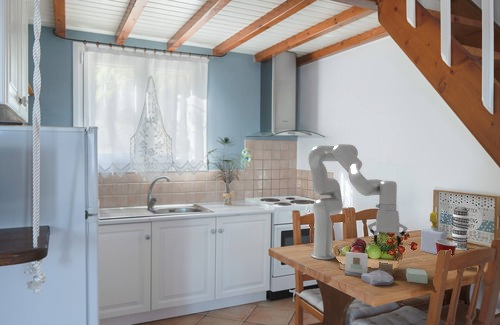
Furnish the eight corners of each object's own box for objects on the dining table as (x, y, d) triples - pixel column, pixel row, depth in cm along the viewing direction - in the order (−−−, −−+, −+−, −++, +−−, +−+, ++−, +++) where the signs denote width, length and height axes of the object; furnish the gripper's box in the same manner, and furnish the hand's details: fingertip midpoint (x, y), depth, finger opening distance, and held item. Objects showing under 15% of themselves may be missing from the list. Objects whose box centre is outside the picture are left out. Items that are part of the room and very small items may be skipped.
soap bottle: (446, 254, 224) (448, 213, 223) (440, 255, 220) (442, 214, 219) (426, 249, 234) (427, 210, 233) (420, 251, 230) (421, 211, 229)
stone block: (395, 287, 173) (378, 276, 181) (397, 277, 172) (380, 267, 180) (375, 292, 167) (359, 280, 176) (377, 282, 166) (360, 271, 175)
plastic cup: (457, 268, 196) (458, 245, 196) (433, 265, 201) (434, 242, 200) (456, 263, 206) (457, 240, 205) (433, 260, 210) (434, 238, 210)
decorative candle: (447, 247, 239) (449, 206, 238) (455, 245, 245) (456, 205, 244) (463, 251, 232) (464, 208, 231) (470, 248, 238) (472, 207, 237)
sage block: (405, 276, 183) (406, 268, 183) (424, 278, 181) (424, 270, 181) (407, 282, 175) (408, 273, 175) (427, 284, 173) (427, 275, 173)
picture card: (345, 271, 188) (345, 250, 188) (367, 273, 185) (367, 252, 185) (344, 275, 182) (345, 253, 182) (367, 277, 179) (367, 255, 179)
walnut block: (378, 273, 187) (378, 260, 186) (391, 274, 185) (391, 261, 185) (378, 276, 181) (378, 264, 181) (392, 278, 179) (392, 265, 179)
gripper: (368, 207, 181) (367, 244, 181) (408, 209, 176) (408, 247, 176) (368, 205, 188) (367, 241, 188) (406, 207, 183) (406, 244, 183)
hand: (387, 244), depth 182 cm, fingers open, 9 cm apart
